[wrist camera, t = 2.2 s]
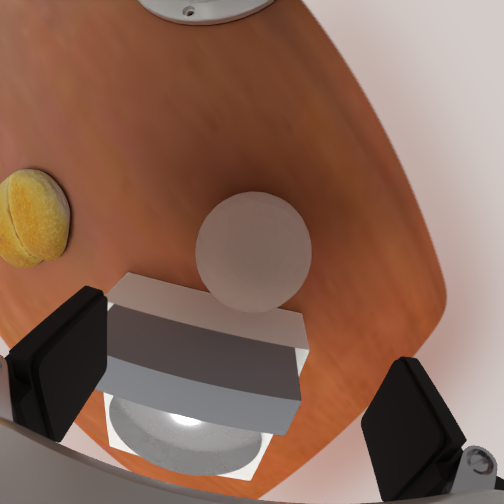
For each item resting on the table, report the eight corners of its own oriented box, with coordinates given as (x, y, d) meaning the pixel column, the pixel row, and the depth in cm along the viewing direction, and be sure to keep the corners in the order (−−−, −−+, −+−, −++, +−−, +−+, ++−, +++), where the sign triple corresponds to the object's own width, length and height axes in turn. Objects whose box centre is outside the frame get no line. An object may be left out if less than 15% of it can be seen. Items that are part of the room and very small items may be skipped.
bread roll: (87, 246, 24) (61, 262, 20) (21, 268, 25) (-5, 284, 21) (58, 151, 22) (28, 154, 18) (-5, 187, 23) (-33, 195, 19)
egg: (238, 166, 21) (220, 178, 13) (320, 215, 22) (354, 259, 14) (193, 246, 23) (154, 303, 15) (271, 290, 24) (273, 365, 16)
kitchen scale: (128, 272, 24) (63, 339, 15) (302, 313, 25) (319, 403, 15) (125, 413, 30) (93, 483, 20) (252, 444, 30) (247, 522, 20)
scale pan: (109, 351, 21) (105, 358, 20) (281, 394, 21) (281, 401, 20) (116, 447, 25) (113, 453, 24) (243, 478, 25) (243, 485, 24)
